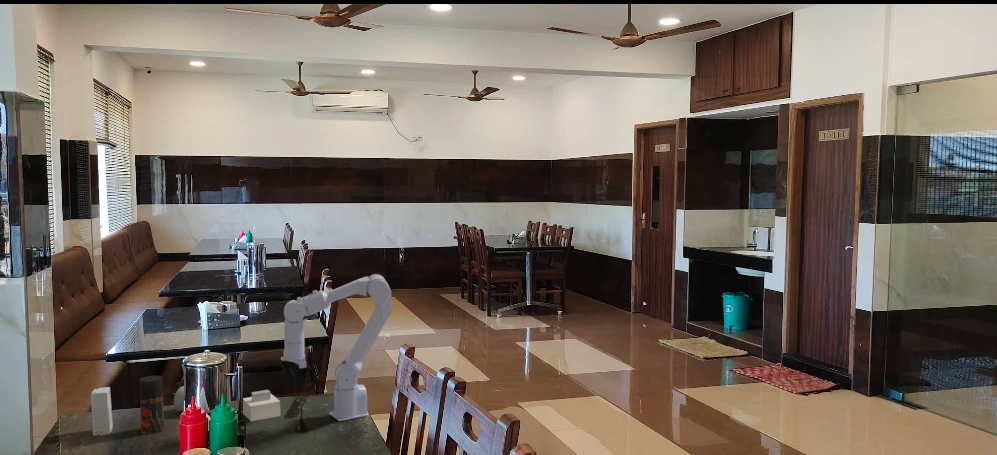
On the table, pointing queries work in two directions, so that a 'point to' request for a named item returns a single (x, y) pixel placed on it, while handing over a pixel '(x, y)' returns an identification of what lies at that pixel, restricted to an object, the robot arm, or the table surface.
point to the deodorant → (151, 404)
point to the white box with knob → (261, 406)
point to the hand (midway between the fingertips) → (295, 386)
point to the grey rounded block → (179, 399)
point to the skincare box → (101, 411)
